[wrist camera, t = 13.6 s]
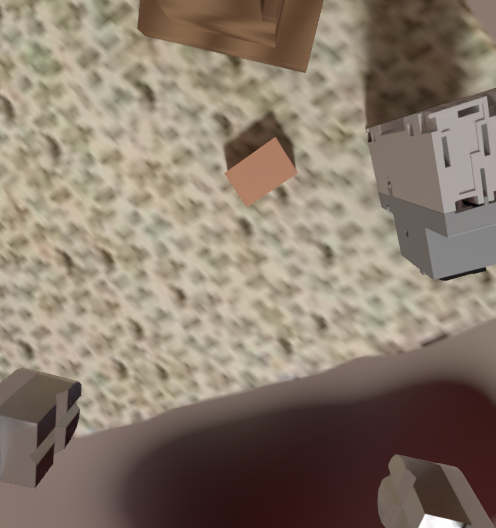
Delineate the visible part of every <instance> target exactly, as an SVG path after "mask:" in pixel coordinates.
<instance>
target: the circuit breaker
mask: <svg viewBox="0 0 496 528" xmlns="http://www.w3.org/2000/svg"><path fill="white" fill-rule="evenodd" d="M369 132H370V134H371V139H372V141H371V142H368V144H369V149H370V153H371V158H372V163H373V168H374V173H375V178H376V182H377V187H378V192H379V197H380V202H381V206H382V208H384V209H386V210H389V211H391V212H393V215H394V220H395V225H396V230H397V235H398V240H399V245H400V250H401V254H402V256H403V257H405V258H406V259H407V260H408V261H410V262H411V263H412V264H414V265H415V266H416V267H418V268H419V269H420V273H421V274H423V275H428V276H429V277H431V278H432V279H434V280H435V279H440V280H443V281H447V280H451V279H454V278H457V277H461V276H465V275H468V274H476V273H479V272H483V271H486V267H487V266H491V265H495V264H496V88H494V89H491V90H488V91H484V92H481V93H478V94H475V95H472V96H469V97H464V98H461V99H458V100H455V101H452V102H448V103H445V104H442V105H439V106H436V107H433V108H430V109H426V110H423V111H420V112H417V113H414V114H411V115H408V116H405V117H402V118H398V119H395V120H392V121H389V122H386V123H383V124H380V125H377V126H374V127H370V128H367V129H366V133H369Z"/></svg>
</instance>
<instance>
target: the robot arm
mask: <svg viewBox="0 0 496 528" xmlns="http://www.w3.org/2000/svg"><path fill="white" fill-rule="evenodd" d="M81 385H82V384H81V383H80V382H79V381H75V380H71V379H67V378H63V377H59V376H55V375H51V374H47V373H44V372H42V373H41V372H38V371H34V370H30V369H26V368H21V369H17V370H16V371H15V372H13V373H12V374H11V375H10V376H8V377H7V378H6V379H5V380H3V381H2V382H1V383H0V482H5V483H10V484H16V485H20V486H25V487H30V488H36V487H37V485H38V484H39V483H40V481H41V480H42V478H43V477H44V476H45V474H46V473H47V472H48V470H49V469H50V468H51V466H52V465H53V460H54V454H55V453H57V452H59V451H61V450H63V449H65V447H66V446H67V444H68V443H69V442H70V440H71V438H72V436H73V434H74V432H75V430H76V428H77V424H78V421H79V415H80V409H79V407H78V406H77V404H76V401H77V400H78V399H79V397H80V396H81ZM388 467H389V469H390V473H391V475H389V476H388V477H386V478H384V479H383V480H382V483H381V485H380V488H379V492H378V508H379V514H380V518H381V522H382V524H383V525H384V526H385V527H386V528H495V527H494V526H493V524H492V522H491V521H490V519H489V517H488V516H487V514H486V512H485V511H484V509H483V507H482V506H481V504H480V502H479V500H478V499H477V497H476V496H475V494H474V492H473V491H472V489H471V487H470V485H469V484H468V482H467V480H466V479H465V477H464V475H463V474H462V472H461V471H460V470H459V469H458V468H456V467H453V466H448V465H443V464H438V463H432V462H428V461H423V460H418V459H414V458H410V457H405V456H401V455H395V456H394V457H392V459H391V461H390V463H389V466H388Z"/></svg>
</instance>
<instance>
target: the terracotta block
mask: <svg viewBox="0 0 496 528" xmlns="http://www.w3.org/2000/svg"><path fill="white" fill-rule="evenodd" d="M297 173H298V172H297V171H296V169H295V168H294V166H293V164H292V163H291V161H290V159H289V158H288V156H287V155H286V153H285V151H284V150H283V148H282V147H281V145H280V143H279V142H278V140H277V139H276V137H275V138H273V139H272V140H270V141H269V142H267V143H266V144H265V145H263V146H262V147H260V148H259V149H258V150H256V151H255V152H253V153H252V154H251V155H249V156H248V157H246V158H245V159H244V160H242V161H241V162H239V163H238V164H236V165H235V166H234V167H232V168H231V169H229V170H228V171H227V172H225V175H226V176H227V178H228V179H229V181H230V182H231V184H232V185H233V187H234V188H235V190H236V191H237V193H238V194H239V196H240V197H241V199H242V200H243V202H244V203H245V205H246V206H247V207H248V206H249V205H251V204H252V203H254V202H255V201H257V200H258V199H260V198H261V197H263V196H264V195H265V194H267V193H268V192H270V191H271V190H273V189H274V188H276V187H277V186H279V185H280V184H282V183H283V182H285V181H286V180H288V179H289V178H291V177H292V176H294V175H295V174H297Z"/></svg>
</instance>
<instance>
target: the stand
mask: <svg viewBox="0 0 496 528" xmlns="http://www.w3.org/2000/svg"><path fill="white" fill-rule="evenodd" d="M322 4H323V0H140V9H139V18H138V27H137V29H138V30H140V31H141V32H142V33H143V34H144V35H145V36H149V37H153V38H157V39H162V40H166V41H170V42H175V43H179V44H183V45H187V46H192V47H196V48H200V49H205V50H209V51H213V52H218V53H222V54H226V55H231V56H235V57H239V58H243V59H248V60H252V61H256V62H261V63H265V64H269V65H274V66H278V67H282V68H287V69H291V70H295V71H300V72H304V73H305V72H306V69H307V66H308V62H309V58H310V54H311V50H312V46H313V42H314V37H315V33H316V29H317V25H318V21H319V17H320V13H321V9H322Z"/></svg>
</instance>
